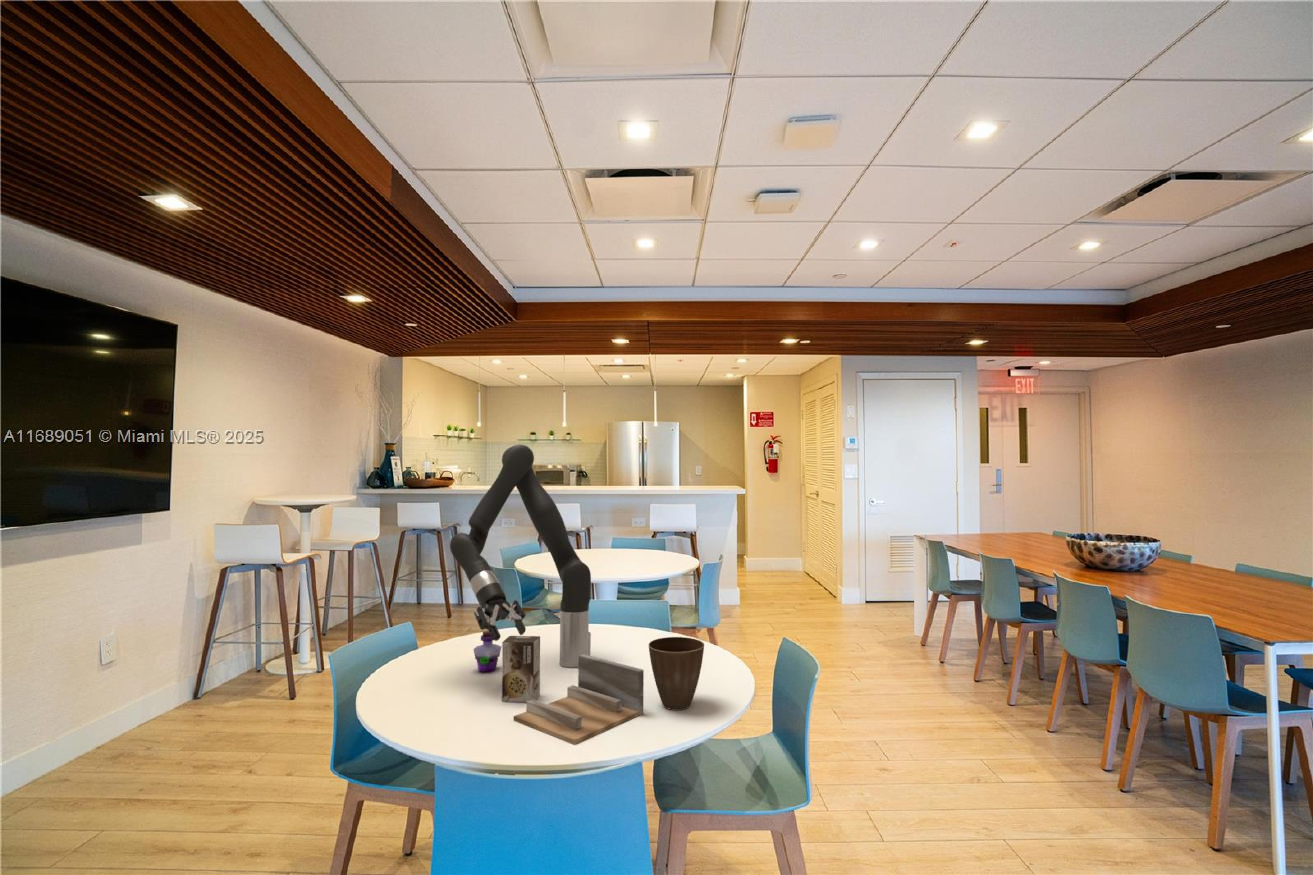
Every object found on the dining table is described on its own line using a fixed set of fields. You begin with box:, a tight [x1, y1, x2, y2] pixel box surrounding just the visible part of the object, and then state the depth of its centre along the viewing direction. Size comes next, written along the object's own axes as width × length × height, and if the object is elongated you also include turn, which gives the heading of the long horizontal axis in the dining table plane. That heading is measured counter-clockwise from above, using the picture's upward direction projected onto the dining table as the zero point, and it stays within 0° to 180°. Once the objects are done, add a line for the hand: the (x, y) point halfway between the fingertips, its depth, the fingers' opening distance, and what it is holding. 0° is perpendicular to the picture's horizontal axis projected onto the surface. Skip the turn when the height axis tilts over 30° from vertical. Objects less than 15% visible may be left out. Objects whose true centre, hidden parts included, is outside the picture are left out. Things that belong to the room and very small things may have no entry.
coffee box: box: [501, 635, 541, 703], centre depth 169 cm, size 9×6×16 cm
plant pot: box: [648, 636, 705, 710], centre depth 164 cm, size 15×15×16 cm
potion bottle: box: [473, 630, 502, 674], centre depth 193 cm, size 9×9×12 cm
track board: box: [513, 654, 644, 745], centre depth 155 cm, size 24×22×11 cm
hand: (510, 636), depth 172 cm, fingers open, 8 cm apart
